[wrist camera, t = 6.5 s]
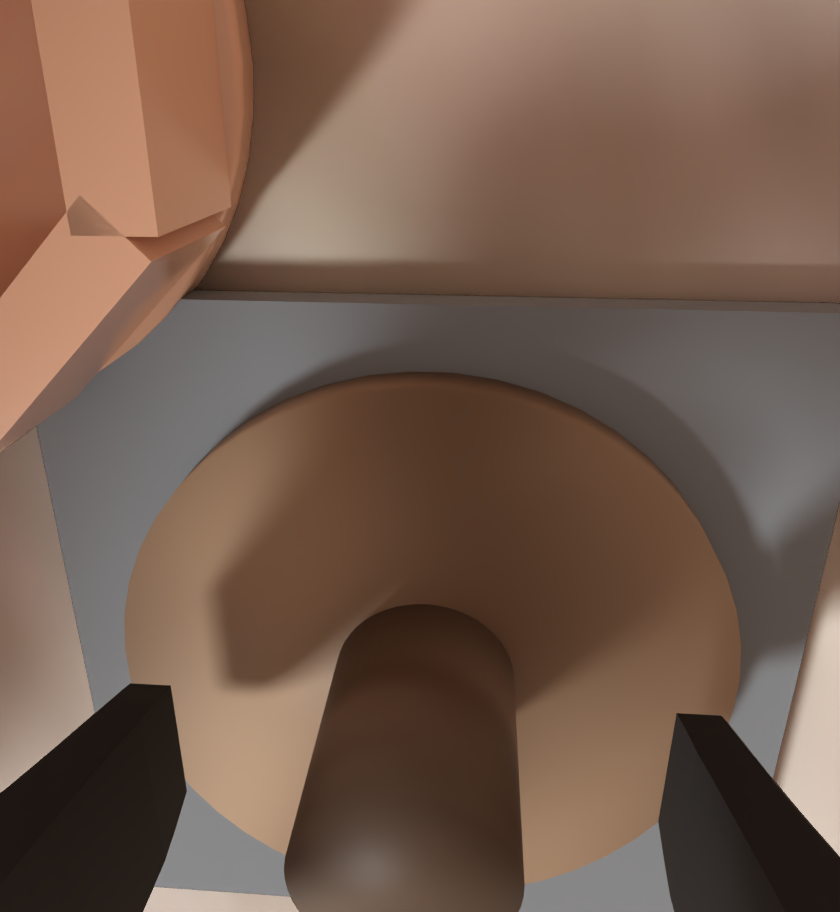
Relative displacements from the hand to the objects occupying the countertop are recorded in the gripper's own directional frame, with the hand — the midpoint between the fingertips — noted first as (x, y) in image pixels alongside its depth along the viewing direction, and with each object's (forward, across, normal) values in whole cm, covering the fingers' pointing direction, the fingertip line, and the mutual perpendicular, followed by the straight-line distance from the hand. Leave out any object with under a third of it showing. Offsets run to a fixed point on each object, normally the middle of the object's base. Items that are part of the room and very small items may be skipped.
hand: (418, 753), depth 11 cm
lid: (+2, 0, 0) cm, 2 cm away
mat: (+3, 0, 0) cm, 3 cm away
